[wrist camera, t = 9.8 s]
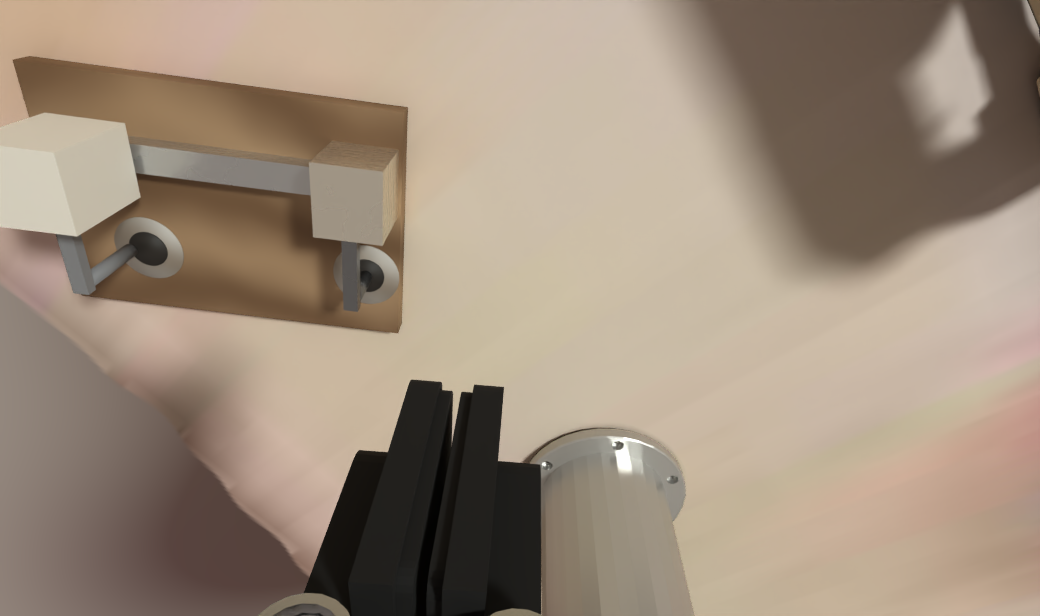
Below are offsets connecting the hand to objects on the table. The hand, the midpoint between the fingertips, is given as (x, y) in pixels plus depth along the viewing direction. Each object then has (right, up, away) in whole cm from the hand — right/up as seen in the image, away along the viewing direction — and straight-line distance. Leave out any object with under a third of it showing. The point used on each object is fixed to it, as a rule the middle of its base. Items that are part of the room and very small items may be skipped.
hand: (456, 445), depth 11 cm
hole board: (-16, +9, +25) cm, 30 cm away
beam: (-15, +9, +23) cm, 29 cm away
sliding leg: (-22, +9, +22) cm, 32 cm away
